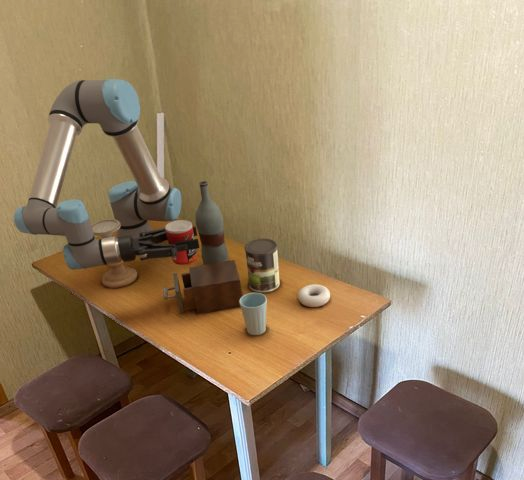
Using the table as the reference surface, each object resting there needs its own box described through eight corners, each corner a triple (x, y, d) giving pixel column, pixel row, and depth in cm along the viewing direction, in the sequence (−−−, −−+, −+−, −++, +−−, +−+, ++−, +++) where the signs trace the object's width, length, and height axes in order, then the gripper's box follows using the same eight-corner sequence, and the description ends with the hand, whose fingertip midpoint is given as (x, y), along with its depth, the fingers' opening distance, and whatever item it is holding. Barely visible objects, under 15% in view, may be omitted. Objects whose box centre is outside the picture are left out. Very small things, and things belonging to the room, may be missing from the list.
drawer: (166, 315, 162) (161, 294, 157) (165, 296, 171) (160, 275, 166) (223, 305, 164) (219, 284, 159) (218, 287, 173) (215, 266, 168)
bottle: (213, 275, 181) (199, 190, 162) (198, 266, 187) (183, 183, 168) (234, 264, 185) (223, 181, 167) (219, 256, 191) (207, 174, 173)
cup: (261, 340, 150) (257, 309, 143) (238, 333, 153) (234, 303, 147) (274, 326, 155) (271, 295, 148) (251, 320, 158) (248, 290, 152)
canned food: (193, 265, 155) (187, 231, 149) (168, 265, 157) (160, 231, 150) (201, 253, 161) (195, 219, 154) (176, 252, 163) (169, 219, 156)
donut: (336, 298, 163) (312, 287, 169) (337, 289, 161) (312, 278, 167) (315, 313, 158) (291, 301, 164) (315, 303, 156) (290, 292, 162)
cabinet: (197, 313, 163) (191, 287, 157) (193, 293, 173) (188, 267, 167) (243, 305, 164) (240, 279, 159) (237, 285, 174) (234, 259, 168)
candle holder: (106, 292, 178) (88, 237, 166) (99, 276, 187) (82, 223, 175) (141, 281, 182) (127, 227, 169) (132, 266, 191) (118, 214, 178)
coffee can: (265, 296, 168) (261, 256, 159) (242, 286, 173) (237, 248, 165) (286, 282, 173) (284, 243, 164) (263, 273, 179) (259, 235, 170)
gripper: (124, 245, 164) (197, 233, 166) (122, 278, 148) (202, 264, 150) (118, 222, 159) (192, 211, 161) (115, 254, 143) (198, 240, 145)
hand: (197, 237), depth 156 cm, fingers closed on canned food, 8 cm apart
